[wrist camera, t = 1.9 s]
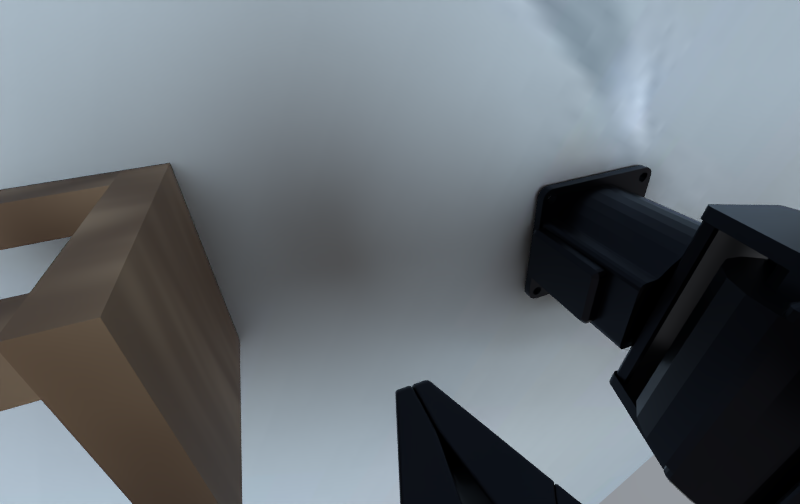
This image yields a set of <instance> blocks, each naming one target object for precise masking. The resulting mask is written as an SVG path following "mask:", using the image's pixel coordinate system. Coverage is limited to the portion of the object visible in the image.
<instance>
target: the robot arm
mask: <svg viewBox="0 0 800 504" xmlns="http://www.w3.org/2000/svg"><path fill="white" fill-rule="evenodd" d="M650 176H651V169H650V168H648V167H645V166H643V165H638V166H633V167H629V168H624V169H620V170H616V171H611V172H607V173H602V174H598V175H593V176H589V177H584V178H580V179H576V180H571V181H567V182H562V183H558V184H553V185H549V186H546V187H544V188H543V189H542V190H541V191H540V193H539V195H538V200H537V207H536V214H535V221H534V228H533V235H532V242H531V249H530V256H529V263H528V271H527V278H526V285H525V292H526V294H528V295H529V296H530V297H531V298H538V297H541V296H544V295H547V294H550V295H552V296H553V297H554V298H555V299H556V300H557V301H558V302H560V303H561V304H562V305H563V306H564V307H565V308H566V309H567V310H569V311H570V312H571V313H572V314H573V315H574V316H575V317H577V318H578V319H579V320H580V321H582V322H583V323H588V322H590V323H592V324H593V325H594V326H595V327H596V328H597V329H599V330H600V331H601V332H602V333H603V334H604V335H606V336H607V337H608V338H609V339H610V340H611V341H613V342H614V343H615V344H616V345H617V346H618V347H620V348H621V349H624V348H627V347H630V346H631V348H630V350H629V352H628V354H627V355H626V357H625V359H624V361H623V362H622V364H621V366H620V368H619V369H618V371H615V372H614V374H613V375H612V377H611V379H610V381H609V382H610V384H611V386H612V387H613V389H614V391H615V392H616V394H617V395H618V397H619V399H620V400H621V402H622V404H623V405H624V407H625V408H626V410H627V412H628V413H629V415H630V416H631V418H632V420H633V421H634V423H635V425H636V426H637V428H638V429H639V431H640V433H641V434H642V436H643V437H644V439H645V441H646V442H647V444H648V445H649V447H650V449H651V450H652V452H653V454H654V455H655V457H656V458H657V460H658V462H659V463H660V465H661V466H662V468H663V469H664V473H665V475H666V477H667V478H668V480H669V481H670V482H671V483H672V484H673V485H674V486H675V487H676V488H677V489H678V490H679V491H681V492H682V493H683V494H684V495H685V496H686V497H687V498H688V499H689V500H690V501H691V502H693V503H694V504H800V211H799V210H796V209H793V208H789V207H786V206H781V205H722V204H709V205H708V206H707V208H706V209H705V211H704V213H703V215H702V217H701V219H702V220H703V221H702V223H701V222H699V221H696V220H694V219H692V218H689V217H687V216H685V215H683V214H680V213H678V212H676V211H674V210H671V209H669V208H667V207H665V206H662V205H660V204H658V203H655V202H653V201H651V200H649V199H646V198H644V196H645V193H646V189H647V186H648V183H649V179H650ZM550 195H551V196H550ZM549 196H550V198H549V199H548V197H549ZM396 417H397V440H398V462H399V485H400V504H581V503H580V502H579V501H577V500H576V499H575V498H574V497H572V496H571V495H570V494H569V493H567V492H566V491H565V490H564V489H563V488H561V487H560V486H559V485H558V484H555V485H554V482H553V481H552V480H551V479H550V478H549V477H548V476H546V475H545V474H544V473H543V472H541V471H540V470H539V469H538V468H536V467H535V466H534V465H533V464H532V463H530V462H529V461H528V460H527V459H525V458H524V457H523V456H522V455H520V454H519V453H518V452H517V451H515V450H514V449H513V448H512V447H511V446H509V445H508V444H507V443H506V442H504V441H503V440H502V439H501V438H499V437H498V436H497V435H496V434H494V433H493V432H492V431H491V430H490V429H488V428H487V427H486V426H485V425H483V424H482V423H481V422H480V421H478V420H477V419H476V418H475V417H474V416H472V415H471V414H470V413H469V412H467V411H466V410H465V409H464V408H462V407H461V406H460V405H459V404H457V403H456V402H455V401H454V400H453V399H451V398H450V397H449V396H448V395H446V394H445V393H444V392H443V391H441V390H440V389H439V388H438V387H436V386H435V385H434V384H433V383H432V382H430V381H428V380H425V381H422V382H419V383H416V384H414V385H413V386H412V387H411V386H407V387H404V388H401V389H398V390H397V391H396Z"/></svg>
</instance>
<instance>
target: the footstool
mask: <svg viewBox="0 0 800 504" xmlns="http://www.w3.org/2000/svg"><path fill="white" fill-rule="evenodd" d="M71 236H72V237H71ZM65 237H71V238H70V240H69V241H68V242H67V244H66V245H65V246H64V248H63V249H62V250H61V252H60V253H59V254H58V256H57V257H56V258H55V260H54V261H53V263H52V264H51V265H50V267H49V268H48V269H47V271H46V272H45V273H44V275H43V276H42V277H41V279H40V280H39V281H38V283H37V284H36V285H35V287H34V288H33V289H32V291H31V292H30V293H28V294H24V295H19V296H14V297H10V298H5V299H1V300H0V411H3V410H7V409H10V408H14V407H17V406H21V405H24V404H28V403H31V402H35V401H39V400H42V401H43V402H44V403H45V405H46V406H47V407H48V408H49V409H50V410H51V411H52V412H53V414H54V415H55V416H56V417H57V418H58V419H59V420H60V422H61V423H62V424H63V425H64V426H65V427H66V428H67V430H68V431H69V432H70V433H71V434H72V435H73V436H74V438H75V439H76V440H77V441H78V442H79V443H80V444H81V446H82V447H83V448H84V449H85V450H86V451H87V452H88V454H89V455H90V456H91V457H92V458H93V459H94V460H95V461H96V463H97V464H98V465H99V466H100V467H101V468H102V469H103V471H104V472H105V473H106V474H107V475H108V476H109V477H110V479H111V480H112V481H113V482H114V483H115V484H116V485H117V487H118V488H119V489H120V490H121V491H122V492H123V493H124V495H125V496H126V497H127V498H128V499H129V500H130V501H131V503H132V504H242V459H241V388H240V340H239V338H238V335H237V332H236V330H235V327H234V325H233V322H232V320H231V317H230V315H229V312H228V310H227V307H226V305H225V302H224V300H223V297H222V295H221V292H220V289H219V287H218V284H217V282H216V279H215V277H214V274H213V272H212V269H211V267H210V264H209V262H208V259H207V257H206V254H205V251H204V249H203V246H202V244H201V241H200V239H199V236H198V234H197V231H196V229H195V226H194V224H193V221H192V219H191V216H190V213H189V211H188V208H187V206H186V203H185V201H184V198H183V196H182V193H181V191H180V188H179V186H178V183H177V181H176V178H175V175H174V173H173V170H172V168H171V165H170V163H166V164H160V165H154V166H148V167H141V168H135V169H129V170H122V171H116V172H110V173H104V174H97V175H91V176H85V177H79V178H72V179H66V180H60V181H53V182H47V183H41V184H35V185H28V186H22V187H16V188H9V189H3V190H0V250H3V249H8V248H13V247H19V246H24V245H29V244H34V243H39V242H45V241H50V240H55V239H60V238H65Z"/></svg>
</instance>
